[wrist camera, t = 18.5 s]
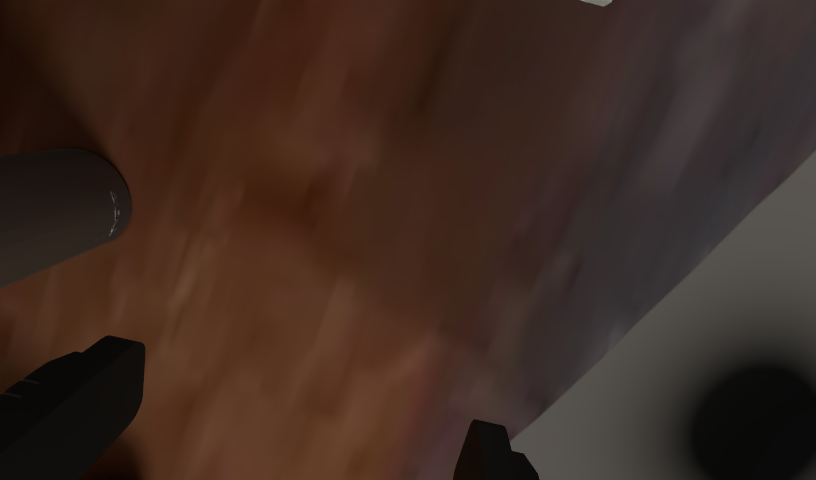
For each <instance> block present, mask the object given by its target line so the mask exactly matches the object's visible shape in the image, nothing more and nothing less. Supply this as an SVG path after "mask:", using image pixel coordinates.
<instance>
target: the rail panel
mask: <svg viewBox="0 0 816 480" xmlns="http://www.w3.org/2000/svg"><path fill="white" fill-rule="evenodd" d="M581 1H585V2H588V3H592V4H596V5H600V6H605V5H607V4H609V3H611V2H612V0H581Z"/></svg>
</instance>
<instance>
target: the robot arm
mask: <svg viewBox="0 0 816 480" xmlns="http://www.w3.org/2000/svg"><path fill="white" fill-rule="evenodd" d="M130 214H131V200H130V196H129V192H128V189H127V187H126V185H125V183H124V181H123V179H122V178H121V176H120V175H119V173H118V172H117V171H116V170H115V169H114V168H113V167H112V166H111V165H110V164H109V163H108V162H107V161H105V160H104V159H102V158H101V157H100V156H98V155H96V154H94V153H91V152H89V151H86V150H82V149H78V148H63V149H55V150H47V151H38V152H29V153H20V154H12V155H4V156H0V289H1V288H4V287H6V286H8V285H11V284H13V283H15V282H18V281H20V280H22V279H24V278H27V277H29V276H31V275H34V274H36V273H38V272H41V271H43V270H45V269H48V268H50V267H52V266H55V265H57V264H59V263H62V262H64V261H66V260H68V259H71V258H73V257H75V256H78V255H80V254H83V253H85V252H87V251H89V250H91V249H94V248H96V247H98V246H100V245H103V244H105V243H107V242H110V241H112V240H114V239H115V238H117V237H118V236H119V235H121V233H122V232H123V231H124V230H125V228H126V227H127V224H128V222H129V220H130ZM144 367H145V346H144V344H143V343H141V342H137V341H133V340H128V339H124V338H119V337H115V336H110V335H109V336H105V337H104V338H102V339H100V340H99V341H98V342H96V343H95V344H94V345H92V346H91V347H89V348H88V349H87V350H85V351H84V352H82V353H80V352H76V351H75V352H73V353H70V354H67V355H65V356H62V357H60V358H57V359H55V360H52V361H49V362H47V363H46V364H44V365H43V366H41V367H40V368H38V369H37V370H35V371H34V372H32V373H31V374H29V375H28V376H26V377H25V379H24V380H23V381H19V382H18V383H16V384H15V385H13V386H12V387H10V388H9V389H7V390H6V391H5V393H4V394H3V395H2V394H0V480H78V479H79V478H80V477H81V476H82V475H83V474H84V473H85V472H86V471H87V470H88V469H89V468H90V466H91V465H92V464H93V463H94V462H95V461H96V460H97V459H98V458H99V457H100V456H101V455H102V454H103V452H104V451H105V450H106V449H107V448H108V447H109V446H110V445H111V444H112V443H113V442H114V441H115V439H116V438H117V437H118V436H119V435H120V434H121V433H122V432H123V431H124V430H125V429H126V428H127V427H128V425H129V424H130V423H131V422H132V420H133V419H134V417H135V416H136V414H137V412H138V410H139V408H140V405H141V402H142V397H143V384H144ZM453 480H539V476H538V473H537V472H536V470H535V469H534V468H533V466H532V465H531V464H530V462H529V461H528V459H527V458H526V456H525V455H524V454H523V453H518V452H514V451H512V450H511V446H510V442H509V438H508V434H507V430H506V428H505V427H504V426H502V425H498V424H493V423H489V422H485V421H480V420H476V419H474V420H473V421H472V422H471V424H470V427H469V430H468V433H467V436H466V438H465V441H464V444H463V447H462V450H461V453H460V456H459V459H458V462H457V465H456V468H455V471H454V476H453Z"/></svg>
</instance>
